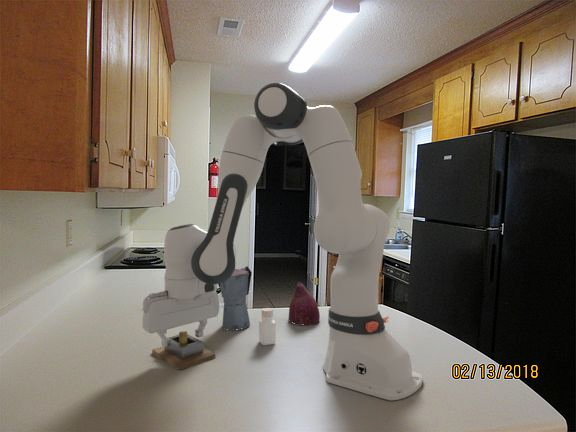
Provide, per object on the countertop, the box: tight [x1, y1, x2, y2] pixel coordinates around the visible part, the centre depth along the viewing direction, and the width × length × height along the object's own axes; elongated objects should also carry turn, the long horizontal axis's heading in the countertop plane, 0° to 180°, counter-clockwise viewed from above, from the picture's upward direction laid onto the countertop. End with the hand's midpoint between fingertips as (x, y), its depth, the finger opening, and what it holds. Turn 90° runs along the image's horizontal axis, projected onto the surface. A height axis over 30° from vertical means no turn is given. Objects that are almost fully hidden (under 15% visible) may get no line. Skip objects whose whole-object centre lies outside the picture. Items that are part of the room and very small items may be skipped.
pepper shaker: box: [258, 307, 277, 346], centre depth 106 cm, size 4×4×10 cm
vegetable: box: [288, 281, 321, 326], centre depth 125 cm, size 10×10×15 cm
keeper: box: [151, 330, 216, 371], centre depth 98 cm, size 14×10×6 cm
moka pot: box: [219, 265, 252, 331], centre depth 121 cm, size 10×15×20 cm, turn 152°
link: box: [164, 333, 204, 360], centre depth 98 cm, size 9×6×3 cm, turn 45°
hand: (183, 341), depth 98 cm, fingers open, 8 cm apart
